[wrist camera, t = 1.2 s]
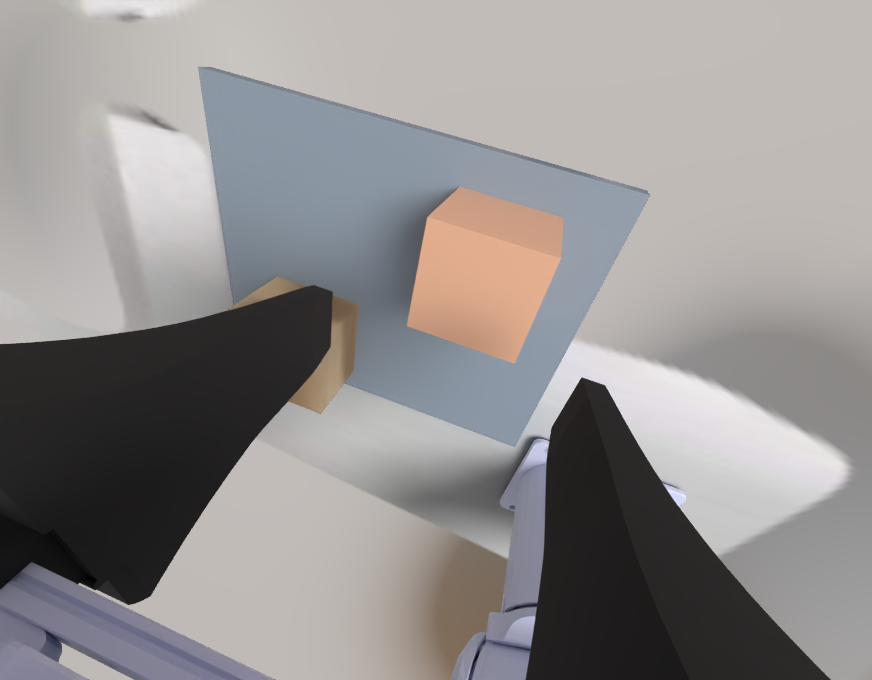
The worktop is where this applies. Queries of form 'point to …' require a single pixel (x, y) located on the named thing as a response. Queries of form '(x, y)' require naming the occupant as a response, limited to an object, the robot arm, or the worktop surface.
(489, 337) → the terracotta block
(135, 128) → the worktop surface
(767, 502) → the worktop surface
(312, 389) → the oak base block
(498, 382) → the board
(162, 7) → the worktop surface
